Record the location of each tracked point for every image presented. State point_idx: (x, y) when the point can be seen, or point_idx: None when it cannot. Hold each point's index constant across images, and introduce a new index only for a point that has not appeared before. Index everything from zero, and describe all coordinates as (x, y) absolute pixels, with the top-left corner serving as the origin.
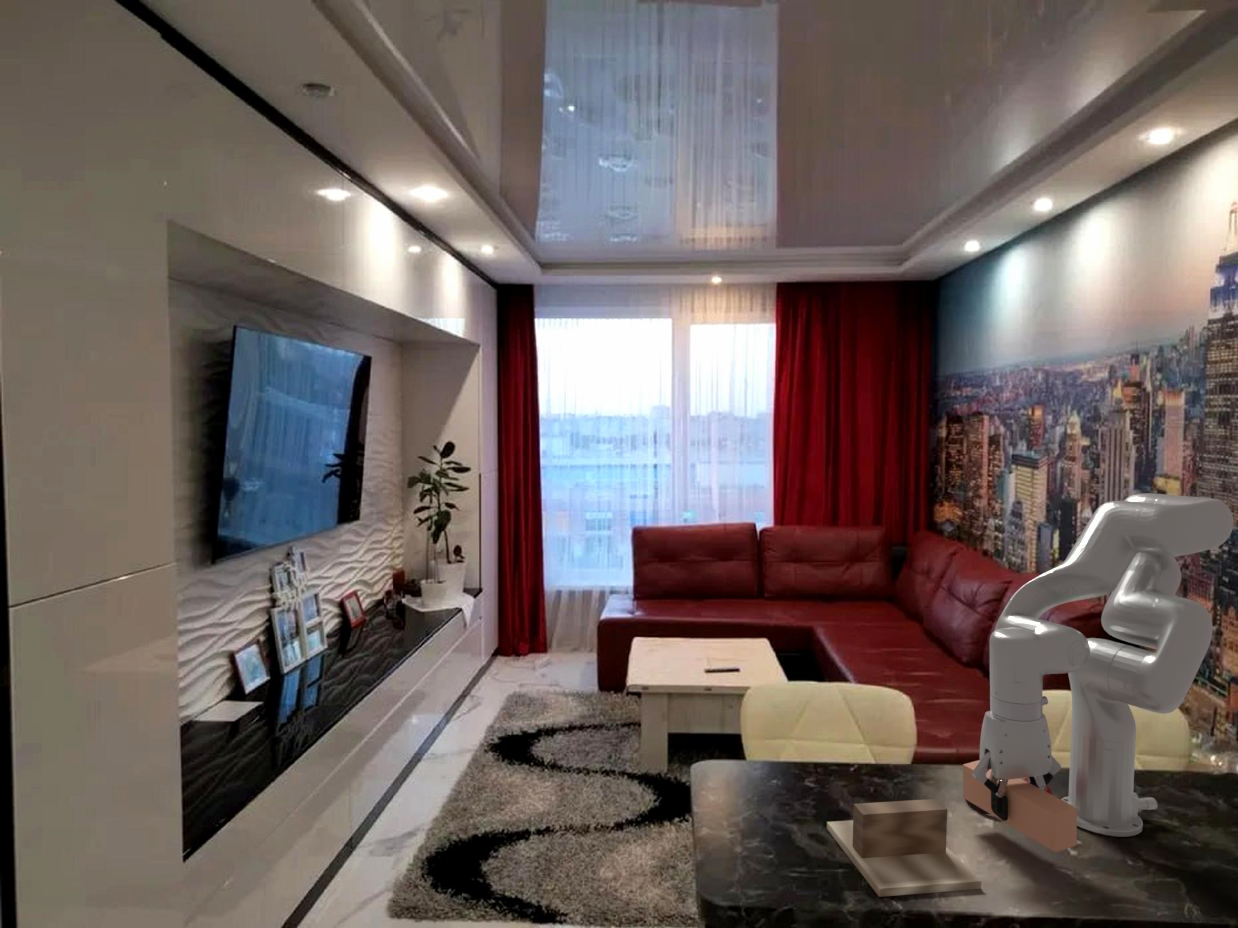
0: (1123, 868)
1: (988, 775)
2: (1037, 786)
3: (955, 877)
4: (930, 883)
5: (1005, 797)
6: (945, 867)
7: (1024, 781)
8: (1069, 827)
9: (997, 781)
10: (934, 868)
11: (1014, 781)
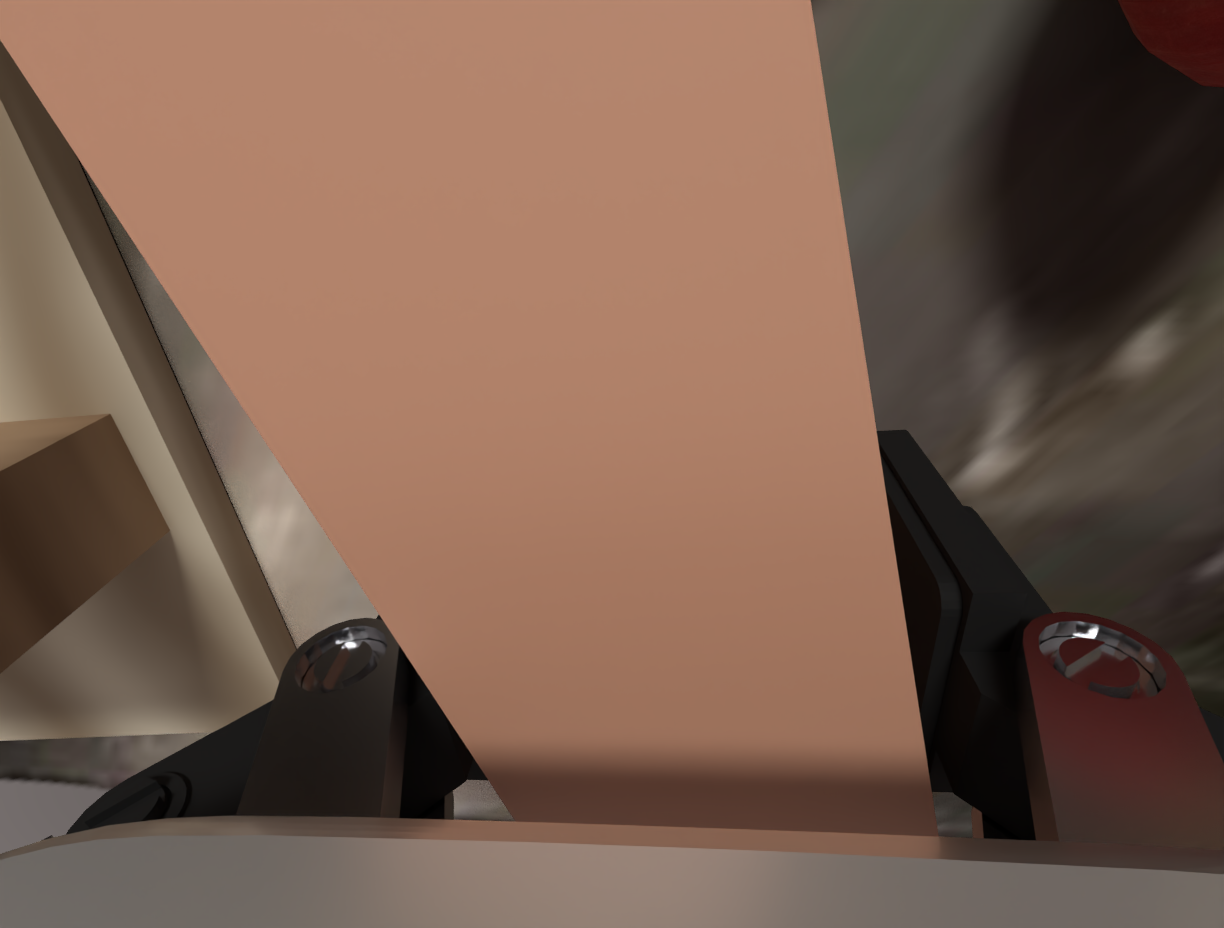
0: (1118, 607)
1: (377, 463)
2: (979, 822)
3: (189, 703)
4: (71, 730)
5: (475, 774)
6: (152, 641)
7: (896, 728)
8: None
9: (402, 764)
10: (96, 645)
11: (730, 707)
